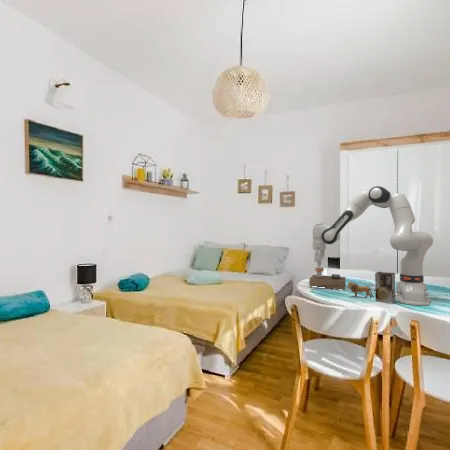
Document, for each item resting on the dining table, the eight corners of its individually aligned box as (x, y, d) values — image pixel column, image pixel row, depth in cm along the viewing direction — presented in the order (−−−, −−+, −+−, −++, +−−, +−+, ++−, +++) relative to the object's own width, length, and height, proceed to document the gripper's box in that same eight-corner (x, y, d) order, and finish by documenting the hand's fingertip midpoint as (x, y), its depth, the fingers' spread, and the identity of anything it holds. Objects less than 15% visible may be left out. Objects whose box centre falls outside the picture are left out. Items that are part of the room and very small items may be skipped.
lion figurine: (347, 297, 188) (347, 282, 188) (347, 295, 193) (347, 280, 193) (375, 299, 183) (374, 283, 183) (374, 297, 188) (374, 282, 188)
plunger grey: (339, 287, 213) (339, 275, 213) (331, 286, 216) (331, 275, 215) (340, 285, 218) (340, 274, 218) (332, 285, 221) (332, 273, 221)
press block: (343, 290, 207) (343, 281, 207) (309, 287, 217) (309, 278, 217) (345, 285, 222) (345, 276, 222) (313, 283, 231) (313, 274, 231)
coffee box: (395, 301, 178) (395, 272, 178) (392, 303, 174) (392, 274, 173) (378, 298, 184) (378, 271, 184) (374, 300, 180) (374, 272, 180)
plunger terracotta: (322, 280, 218) (322, 268, 218) (314, 279, 220) (314, 268, 220) (324, 278, 223) (324, 267, 223) (315, 278, 225) (315, 267, 225)
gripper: (321, 248, 210) (321, 268, 211) (325, 245, 229) (326, 264, 229) (312, 248, 213) (312, 268, 213) (316, 245, 232) (317, 264, 232)
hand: (319, 266), depth 221 cm, fingers closed
